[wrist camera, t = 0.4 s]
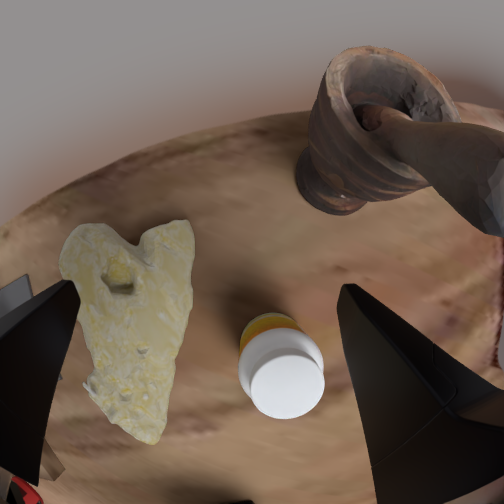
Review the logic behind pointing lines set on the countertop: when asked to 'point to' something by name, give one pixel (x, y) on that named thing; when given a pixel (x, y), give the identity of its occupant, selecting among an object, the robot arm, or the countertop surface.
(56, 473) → the block
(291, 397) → the supplement bottle
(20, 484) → the canned food
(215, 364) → the countertop surface
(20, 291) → the mat
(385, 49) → the mortar and pestle
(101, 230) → the cream lumpy knobby chunk
